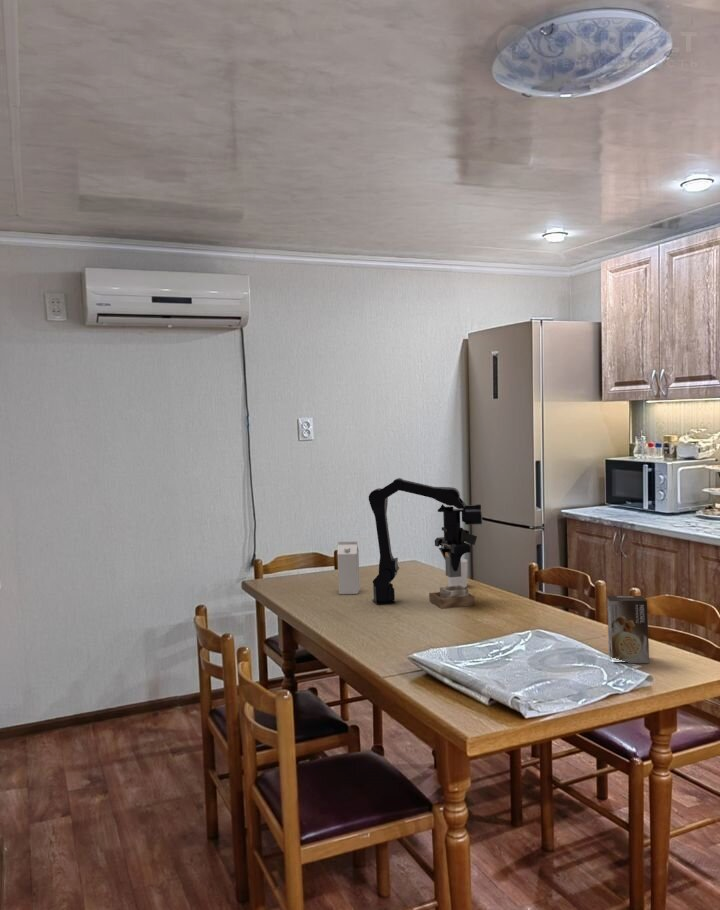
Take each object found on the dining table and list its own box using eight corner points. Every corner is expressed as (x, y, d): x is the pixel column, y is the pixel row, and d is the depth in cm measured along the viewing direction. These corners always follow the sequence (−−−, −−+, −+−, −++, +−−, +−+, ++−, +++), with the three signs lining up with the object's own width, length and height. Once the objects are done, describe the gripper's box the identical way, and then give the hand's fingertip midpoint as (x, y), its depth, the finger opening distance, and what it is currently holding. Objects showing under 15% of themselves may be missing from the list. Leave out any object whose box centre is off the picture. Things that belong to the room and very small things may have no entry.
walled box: (441, 608, 255) (440, 593, 255) (429, 601, 266) (429, 587, 265) (474, 605, 258) (473, 590, 258) (461, 598, 269) (461, 584, 269)
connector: (450, 577, 259) (449, 554, 259) (445, 575, 263) (445, 552, 263) (461, 576, 261) (460, 553, 260) (456, 574, 264) (455, 551, 264)
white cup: (472, 587, 286) (471, 560, 286) (456, 590, 282) (455, 563, 282) (459, 583, 293) (458, 557, 292) (442, 586, 289) (442, 560, 288)
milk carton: (341, 590, 288) (339, 540, 287) (359, 590, 288) (358, 539, 287) (338, 594, 281) (337, 543, 280) (358, 594, 280) (356, 542, 280)
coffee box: (644, 656, 198) (643, 594, 197) (649, 664, 192) (648, 600, 191) (608, 655, 200) (606, 594, 199) (611, 663, 193) (610, 600, 193)
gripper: (485, 526, 254) (486, 572, 255) (462, 520, 272) (463, 563, 273) (454, 528, 251) (455, 575, 252) (433, 522, 269) (434, 566, 270)
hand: (453, 569), depth 262 cm, fingers closed on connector, 4 cm apart
